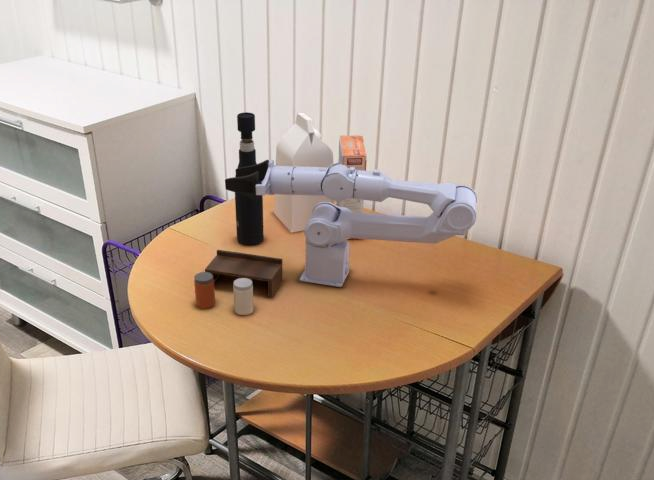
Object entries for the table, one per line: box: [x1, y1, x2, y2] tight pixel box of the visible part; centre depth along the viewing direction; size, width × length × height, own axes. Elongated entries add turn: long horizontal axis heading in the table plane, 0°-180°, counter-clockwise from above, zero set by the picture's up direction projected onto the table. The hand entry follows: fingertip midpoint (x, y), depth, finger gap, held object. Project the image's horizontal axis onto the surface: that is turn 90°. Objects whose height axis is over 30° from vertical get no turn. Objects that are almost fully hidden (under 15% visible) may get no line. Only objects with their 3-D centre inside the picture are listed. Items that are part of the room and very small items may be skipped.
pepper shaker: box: [193, 271, 216, 310], centre depth 152 cm, size 4×4×6 cm
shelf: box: [204, 249, 284, 299], centre depth 159 cm, size 15×8×6 cm, turn 73°
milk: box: [273, 112, 335, 233], centre depth 180 cm, size 12×12×26 cm
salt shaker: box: [232, 277, 255, 316], centre depth 150 cm, size 4×4×6 cm
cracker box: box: [335, 135, 368, 213], centre depth 178 cm, size 14×6×21 cm, turn 179°
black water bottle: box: [234, 111, 265, 247], centre depth 169 cm, size 6×6×30 cm
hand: (231, 178), depth 155 cm, fingers open, 7 cm apart
